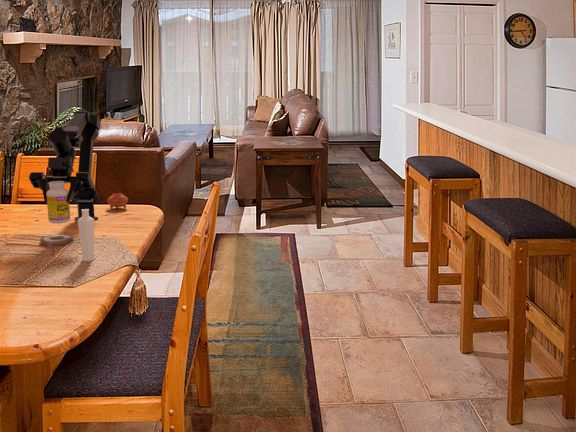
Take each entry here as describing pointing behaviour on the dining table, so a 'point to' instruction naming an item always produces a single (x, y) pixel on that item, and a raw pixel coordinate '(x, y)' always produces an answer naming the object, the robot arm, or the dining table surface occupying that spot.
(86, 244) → the perfume bottle
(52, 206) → the supplement bottle
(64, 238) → the post base
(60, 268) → the dining table surface
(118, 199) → the pot
